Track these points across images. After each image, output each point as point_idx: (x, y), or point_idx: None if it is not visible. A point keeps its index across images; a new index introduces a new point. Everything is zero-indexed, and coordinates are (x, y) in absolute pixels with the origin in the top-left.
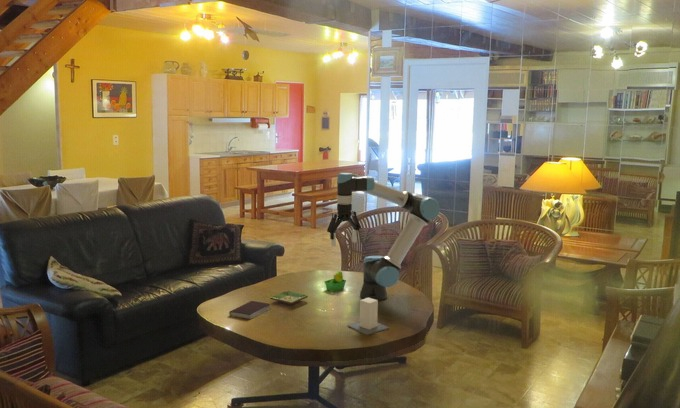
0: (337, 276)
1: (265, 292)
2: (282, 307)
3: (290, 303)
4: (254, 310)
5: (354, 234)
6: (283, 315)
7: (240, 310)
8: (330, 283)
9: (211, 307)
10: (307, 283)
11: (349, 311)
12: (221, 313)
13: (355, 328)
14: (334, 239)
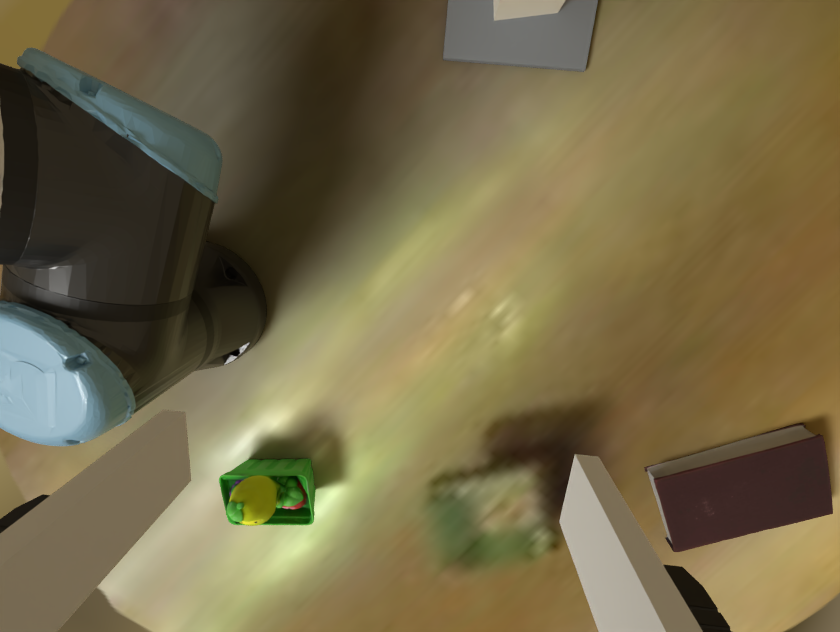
0: (263, 498)
1: (524, 603)
2: (604, 446)
3: (545, 461)
4: (768, 459)
5: (78, 532)
6: (674, 375)
7: (804, 493)
8: (308, 488)
9: (786, 601)
10: (327, 584)
11: (429, 226)
12: (815, 536)
13: (595, 2)
14: (650, 544)
